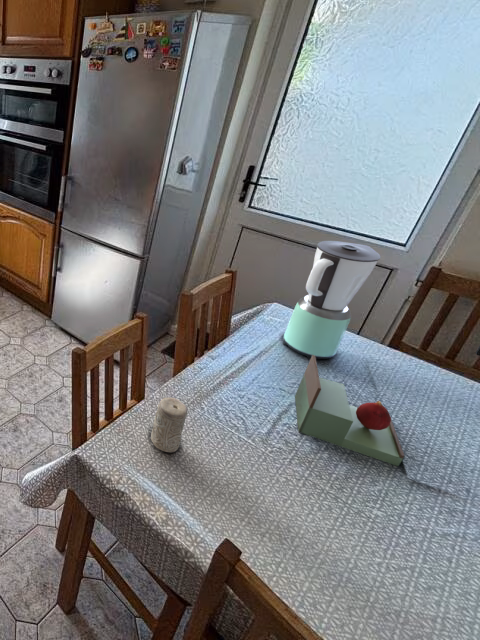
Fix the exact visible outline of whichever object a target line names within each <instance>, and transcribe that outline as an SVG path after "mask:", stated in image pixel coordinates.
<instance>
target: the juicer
mask: <svg viewBox="0 0 480 640" xmlns="http://www.w3.org/2000/svg"><path fill="white" fill-rule="evenodd" d="M380 260H381V255H380V254H379V252H377V251H376V250H375V249H373V248H372V247H371V246H369V245H366V244H359V243H353V242H347V241H337V240H322V241H319V242H317V244H316V250H315V254H314V259H313V264H312V268H311V270H310V273H309V275H308V278H307V281H306V284H305V291H306V292H307V293H308V294H307V295H304V296H303V297H301V298H299V299H298V301H297V302H296V304H295V306H294V308H293V311H292V313H291V315H290V318H289V321H288V324H287V326H286V328H285V332H284V334H283V342H282V344H283V343H284V344H285V345H288V346H287V347H289V348H290V349H291V350H293V351H294V352H296V353H298V354H300V355H303V356H306V358H307V359H308V360H309V361H310V359H311V357H312V355H315V357H316V359H317V360H326V359H331V358H333V357H334V356H336V354H337V352H338V349H339V347H340V345H341V342H342V340H343V338H344V336H345V334H346V331H347V329H348V327H349V324H350V322H351V319H352V313H351V310H350V308H349V307H348V305H350V302H351V301H352V300H353V298H354V297H355V296H356V295H357V293H358V292H359V290H360V289H361V287H362V286H363V285H364V283H365V282H366V280H367V279H368V278H369V276H370V275H371V274H372V272H373V271H374V269H375V267H376V265H377V264H378V261H380ZM285 345H284V346H285Z"/></svg>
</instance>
